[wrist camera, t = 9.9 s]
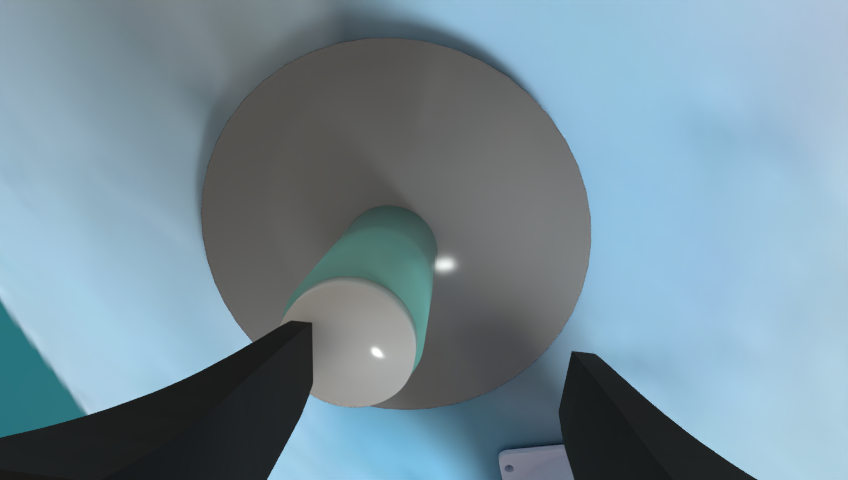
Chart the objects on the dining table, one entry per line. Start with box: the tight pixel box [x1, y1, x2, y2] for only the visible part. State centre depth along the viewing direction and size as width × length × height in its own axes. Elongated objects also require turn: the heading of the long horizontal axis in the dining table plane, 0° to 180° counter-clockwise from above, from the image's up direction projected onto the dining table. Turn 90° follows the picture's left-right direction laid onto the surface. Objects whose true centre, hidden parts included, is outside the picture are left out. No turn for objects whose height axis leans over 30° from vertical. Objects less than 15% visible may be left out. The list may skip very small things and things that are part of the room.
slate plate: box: [201, 38, 591, 410], centre depth 20 cm, size 18×18×1 cm
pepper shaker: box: [280, 205, 438, 407], centre depth 16 cm, size 4×4×8 cm
